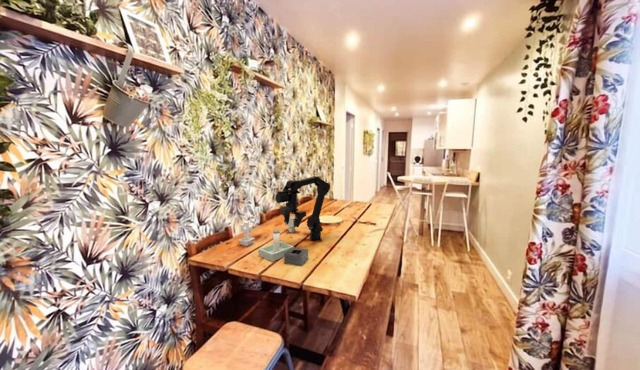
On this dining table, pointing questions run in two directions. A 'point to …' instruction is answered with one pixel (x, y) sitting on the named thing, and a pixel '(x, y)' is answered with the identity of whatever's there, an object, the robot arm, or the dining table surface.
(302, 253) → the block
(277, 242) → the beige capped cylinder
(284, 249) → the tray
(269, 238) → the dining table surface
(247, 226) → the figurine
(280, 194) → the robot arm
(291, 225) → the pneumatic valve
